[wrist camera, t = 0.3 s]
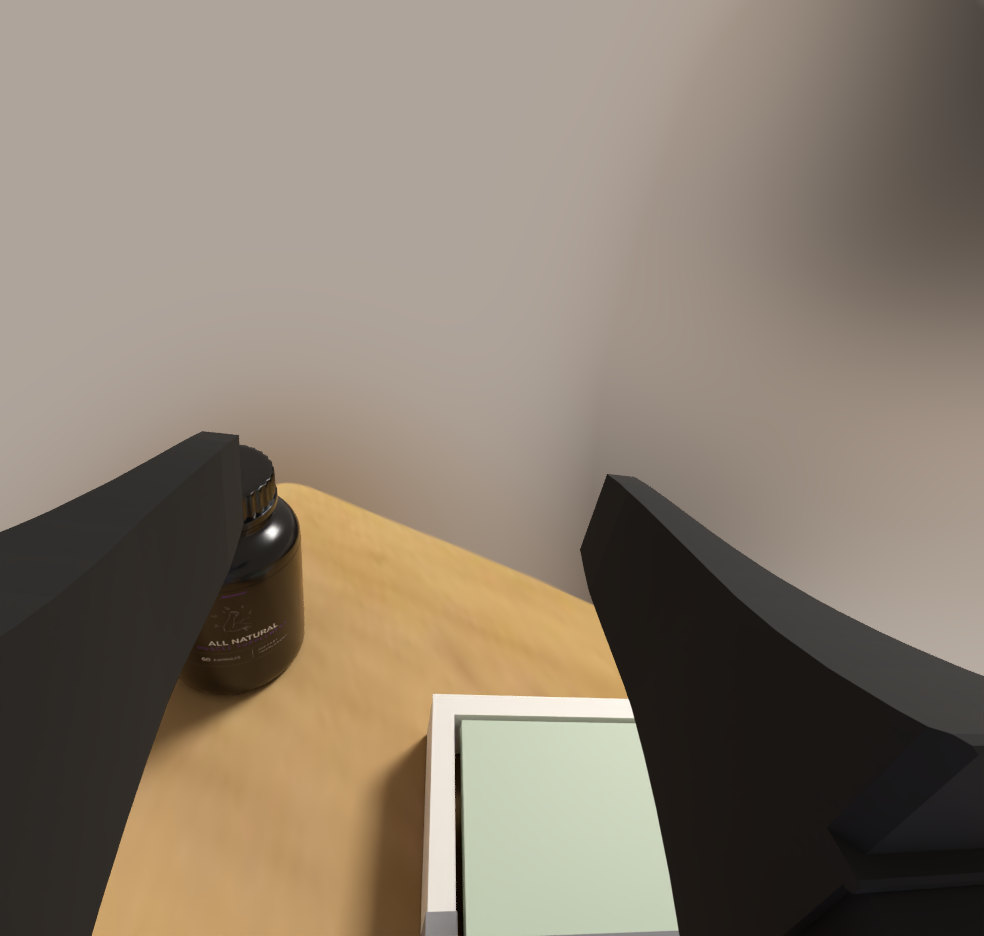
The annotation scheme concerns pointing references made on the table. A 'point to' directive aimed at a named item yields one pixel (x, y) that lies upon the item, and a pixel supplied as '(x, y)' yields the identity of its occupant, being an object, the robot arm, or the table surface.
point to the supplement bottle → (254, 594)
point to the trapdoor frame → (440, 780)
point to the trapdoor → (560, 832)
